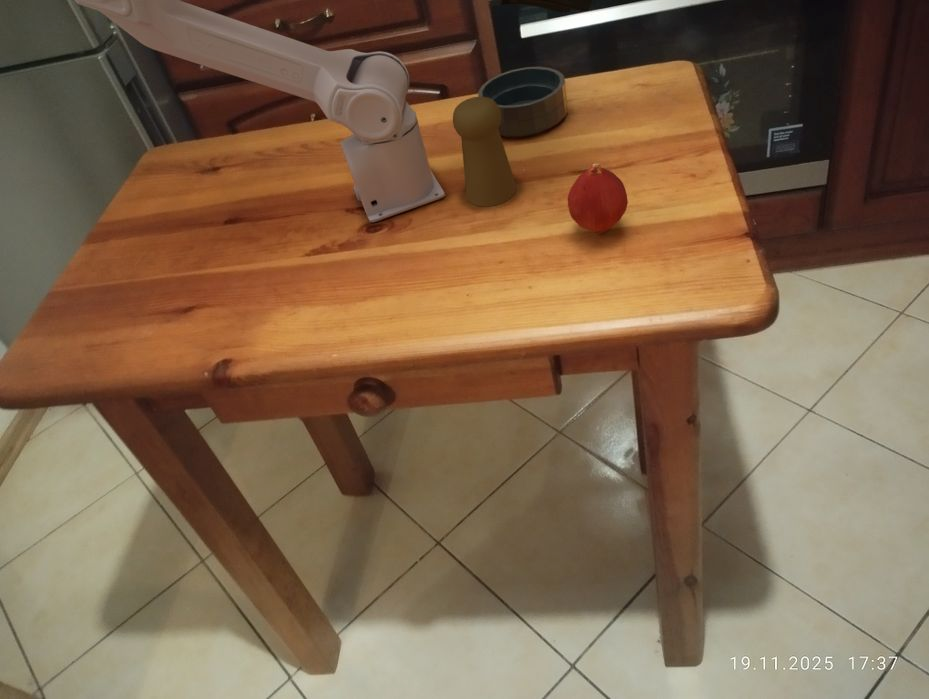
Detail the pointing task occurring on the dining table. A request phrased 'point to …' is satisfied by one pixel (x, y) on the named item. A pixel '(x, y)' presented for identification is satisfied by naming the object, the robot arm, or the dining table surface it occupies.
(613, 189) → the onion
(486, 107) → the olive pawn
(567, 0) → the robot arm
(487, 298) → the dining table surface
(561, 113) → the bowl
